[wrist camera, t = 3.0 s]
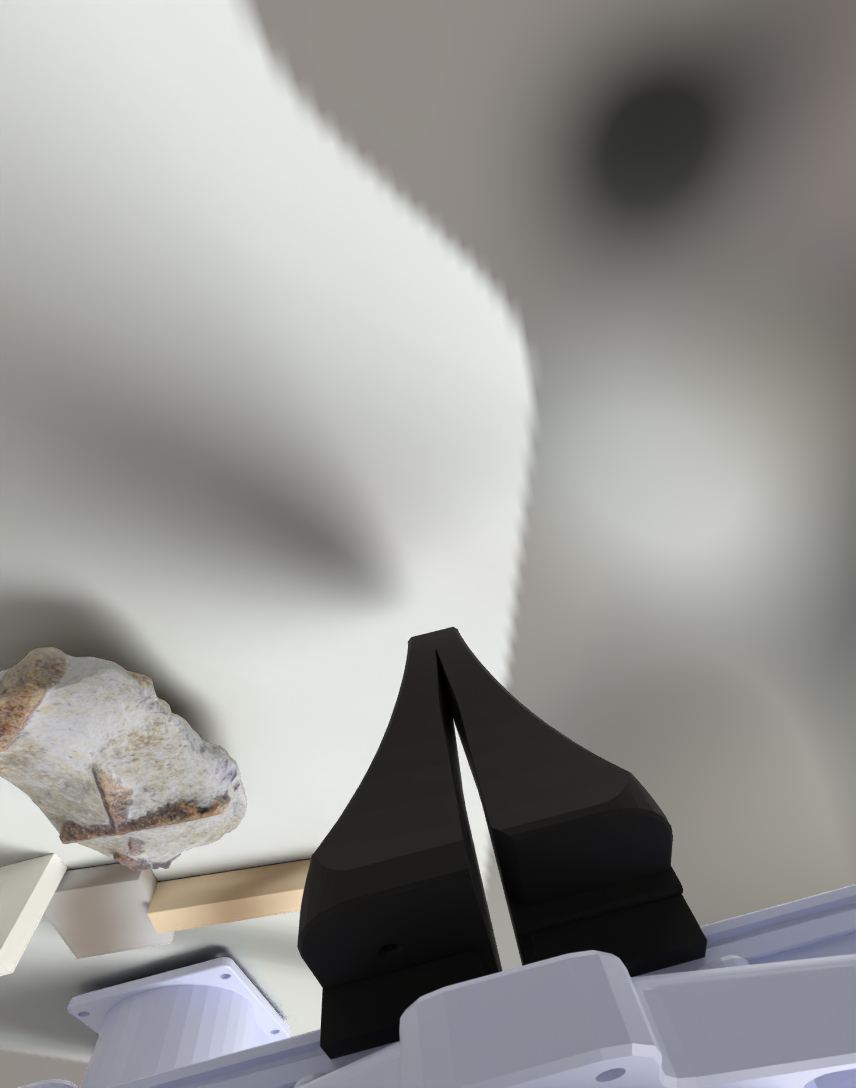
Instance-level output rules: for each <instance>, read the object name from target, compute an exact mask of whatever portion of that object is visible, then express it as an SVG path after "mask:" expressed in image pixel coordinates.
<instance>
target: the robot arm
mask: <svg viewBox="0 0 856 1088" xmlns="http://www.w3.org/2000/svg"><path fill="white" fill-rule="evenodd" d="M453 719H454V721H453ZM454 722H455V725H456V728H457V731H458V734H459V737H460V740H461V743H462V745H463V748H464V751H465V754H466V757H467V760H468V763H469V766H470V769H471V772H472V775H473V777H474V780H475V783H476V786H477V789H478V792H479V796H480V799H481V802H482V806H483V810H484V814H485V818H486V822H487V826H488V830H489V834H490V838H491V842H492V846H493V850H494V854H495V858H496V862H497V866H498V870H499V873H500V878H501V882H502V885H503V889H504V894H505V898H506V901H507V906H508V910H509V913H510V917H511V922H512V926H513V929H514V933H515V938H516V942H517V945H518V949H519V954H520V958H521V962H522V966H520V967H516V968H513V969H509V970H505V971H502V967H501V963H500V958H499V954H498V950H497V945H496V941H495V937H494V933H493V927H492V923H491V919H490V914H489V910H488V905H487V901H486V897H485V892H484V888H483V883H482V879H481V874H480V870H479V865H478V861H477V857H476V852H475V848H474V843H473V839H472V834H471V830H470V825H469V821H468V816H467V812H466V807H465V801H464V795H463V788H462V781H461V773H460V766H459V758H458V751H457V743H456V736H455V728H454ZM672 841H673V835H672V828H671V825H670V824H669V822H668V821H667V818H666V816H665V815H664V813H663V812H662V810H661V809H660V808H659V806H658V805H657V803H656V802H655V801H654V799H653V798H652V797H651V796H650V794H649V793H648V792H647V791H646V789H645V788H644V787H643V786H642V785H641V784H640V782H639V781H638V780H637V779H636V778H635V777H634V776H633V775H632V774H631V773H630V772H628V771H626V770H624V769H622V768H620V767H618V766H616V765H614V764H612V763H610V762H608V761H606V760H604V759H602V758H601V757H599V756H597V755H595V754H593V753H592V752H590V751H588V750H587V749H585V748H583V747H582V746H580V745H578V744H576V743H575V742H573V741H572V740H570V739H569V738H567V737H565V736H564V735H563V734H561V733H560V732H558V731H557V730H555V729H554V728H552V727H551V726H549V725H548V724H547V723H545V722H544V721H543V720H541V719H540V718H539V717H537V716H536V715H534V713H532V712H531V711H530V710H529V709H527V708H526V707H525V706H524V705H523V704H521V703H520V702H519V701H518V700H517V699H516V698H514V697H513V696H512V695H511V694H510V693H509V692H508V691H507V690H506V689H505V688H504V687H503V686H502V685H501V684H500V683H499V682H498V681H497V680H496V679H495V678H494V677H493V676H492V675H491V674H490V673H489V671H488V670H487V669H486V668H485V667H484V666H483V665H482V664H481V662H480V661H479V660H478V659H477V658H476V656H475V655H474V654H473V653H472V651H471V650H470V649H469V647H468V646H467V644H466V643H465V642H464V640H463V638H462V637H461V635H460V633H459V631H458V629H456V628H454V627H450V628H446V629H442V630H438V631H434V632H430V633H426V634H422V635H418V636H414V637H411V638H410V640H409V641H408V653H407V660H406V665H405V670H404V675H403V679H402V683H401V687H400V691H399V694H398V698H397V701H396V704H395V707H394V710H393V713H392V716H391V719H390V722H389V724H388V727H387V729H386V732H385V734H384V737H383V739H382V741H381V744H380V746H379V748H378V750H377V753H376V755H375V757H374V759H373V761H372V763H371V765H370V767H369V769H368V771H367V773H366V774H365V776H364V778H363V780H362V782H361V784H360V785H359V787H358V789H357V790H356V792H355V794H354V795H353V797H352V798H351V800H350V802H349V803H348V805H347V807H346V808H345V810H344V812H343V813H342V815H341V816H340V818H339V819H338V821H337V822H336V824H335V825H334V826H333V828H332V829H331V830H330V832H329V833H328V835H327V836H326V837H325V839H324V840H323V842H322V843H321V844H320V846H319V847H318V848H317V850H316V851H315V852H314V854H313V855H312V858H311V861H310V865H309V869H308V873H307V877H306V882H305V886H304V891H303V896H302V902H301V910H300V922H299V934H298V946H297V947H298V950H299V952H300V955H301V957H302V959H303V960H304V961H305V963H306V964H307V966H308V967H309V969H310V970H311V971H312V973H313V974H314V976H315V977H316V979H317V980H318V982H319V983H320V984H321V986H322V987H323V993H322V1013H321V1029H320V1030H316V1031H312V1032H308V1033H305V1034H301V1035H297V1036H294V1037H290V1031H291V1029H290V1027H289V1026H288V1025H287V1024H286V1023H285V1021H284V1020H283V1019H282V1018H281V1017H280V1015H279V1014H278V1013H277V1012H276V1011H275V1010H274V1008H273V1007H272V1006H271V1005H270V1004H269V1002H268V1001H267V1000H266V999H265V998H264V997H263V995H262V994H261V993H260V992H259V991H258V989H257V988H256V987H255V986H254V985H253V984H252V982H251V981H250V980H249V979H248V978H247V976H246V975H245V974H244V973H243V972H242V971H241V969H240V968H239V967H238V966H237V965H236V963H235V962H234V961H233V960H232V959H231V958H228V957H220V958H216V959H213V960H209V961H205V962H201V963H197V964H194V965H190V966H186V967H182V968H179V969H175V970H171V971H167V972H164V973H160V974H156V975H152V976H149V977H145V978H141V979H137V980H133V981H130V982H126V983H122V984H118V985H115V986H111V987H107V988H103V989H100V990H96V991H92V992H88V993H84V994H81V995H77V996H75V997H73V998H72V999H71V1000H70V1002H69V1005H68V1007H67V1011H68V1012H69V1013H70V1014H72V1015H73V1016H74V1017H76V1018H77V1019H78V1020H80V1021H81V1022H82V1023H84V1024H85V1025H86V1026H88V1027H89V1028H90V1029H92V1030H93V1031H94V1032H96V1033H97V1034H98V1035H99V1037H98V1040H97V1042H96V1045H95V1048H94V1051H93V1054H92V1056H91V1059H90V1062H89V1065H88V1068H87V1071H86V1073H85V1076H84V1079H83V1082H82V1085H81V1087H80V1088H856V884H854V885H850V886H847V887H843V888H839V889H836V890H832V891H828V892H824V893H821V894H817V895H813V896H810V897H806V898H802V899H799V900H795V901H791V902H788V903H784V904H780V905H777V906H773V907H769V908H766V909H762V910H758V911H754V912H751V913H747V914H744V915H740V916H736V917H733V918H729V919H725V920H722V921H718V922H714V923H710V924H707V925H703V926H699V924H698V923H697V921H696V919H695V917H694V916H693V914H692V912H691V910H690V908H689V907H688V905H687V903H686V901H685V899H684V897H683V896H682V894H681V893H683V888H682V885H681V883H680V881H679V879H678V877H677V876H676V874H675V872H674V870H673V869H672V867H671V854H672ZM18 1088H79V1087H78V1086H77V1085H75V1084H74V1083H72V1082H70V1081H66V1080H62V1079H51V1080H45V1081H40V1082H36V1083H33V1084H29V1085H25V1086H21V1087H18Z"/></svg>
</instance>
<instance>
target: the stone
mask: <svg viewBox="0 0 856 1088" xmlns="http://www.w3.org/2000/svg"><path fill="white" fill-rule="evenodd" d="M0 776H1V777H2V778H4V779H6V780H8V781H9V782H11V783H12V784H14V785H15V786H16V787H18V788H19V789H21V790H22V791H23V792H25V793H26V794H27V795H28V796H29V797H30V798H31V799H32V801H33V802H34V803H35V804H36V805H37V806H38V807H39V808H40V809H41V811H42V812H43V813H44V814H45V815H46V817H47V818H48V819H49V820H50V822H51V823H52V824H53V826H54V827H55V828H56V830H57V831H58V832H59V834H60V836H59V837H60V839H61V841H62V843H63V844H69V843H74V842H76V843H78V844H81V845H84V846H86V847H89V848H91V849H94V850H96V851H99V852H100V853H102V854H104V855H107V856H109V857H112V858H114V859H115V860H117V861H118V862H119V863H120V864H121V865H126V866H127V867H128V868H130V869H131V870H135V871H142V870H148V869H158V868H159V867H162V868H164V869H167V868H169V866H170V864H171V862H172V861H173V860H174V859H176V858H177V857H178V856H180V855H181V852H183V851H186V850H189V849H192V848H194V847H198V846H203V845H207V844H211V843H213V842H215V841H217V840H219V839H220V838H221V837H222V836H223V835H224V834H226V833H229V832H231V831H232V830H234V829H236V828H237V826H238V825H239V824H240V822H241V820H242V819H243V818H244V815H245V812H246V808H247V797H246V794H245V790H244V788H243V784H242V781H241V774H240V771H239V768H238V766H237V763H236V761H234V760H233V759H232V758H231V757H230V756H229V755H228V753H227V751H226V750H224V749H223V748H222V747H221V746H217V745H213V744H210V743H207V742H206V741H204V740H202V739H201V737H200V736H199V735H198V734H197V732H196V731H195V730H193V729H192V728H191V726H190V725H189V724H188V723H187V721H186V720H185V719H184V718H183V717H181V716H180V715H177V714H174V713H172V712H171V708H170V706H169V704H168V703H167V702H166V701H165V700H162V699H160V698H158V697H157V696H156V693H155V690H154V686H153V681H152V679H151V678H150V677H149V676H146V675H143V674H141V673H138V672H132V671H127V670H125V669H124V668H123V667H122V666H120V665H118V664H116V663H115V662H113V661H109V660H104V659H100V658H95V657H73V656H69V655H67V654H66V653H65V652H63V651H62V650H60V649H58V648H55V647H45V648H35V649H33V650H31V651H29V653H28V654H27V655H26V656H25V657H24V658H23V659H22V660H21V661H19V662H18V663H17V664H16V665H14V666H13V667H12V668H10V669H6V670H3V671H0Z"/></svg>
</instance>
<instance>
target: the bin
mask: <svg viewBox="0 0 856 1088" xmlns="http://www.w3.org/2000/svg"><path fill="white" fill-rule="evenodd" d="M67 868H68V867H67V866H66V865H65V864H64V863H63V862H62V861H61V860H60V859H59V858H58V857H57V856H56V855H55V854H50V855H46V856H42V857H38V858H34V859H30V860H26V861H23V862H19V863H15V864H11V865H7V866H3V867H0V976H3V975H7V974H11V973H13V972H14V970H15V968H16V966H17V964H18V962H19V960H20V958H21V957H22V955H23V953H24V951H25V949H26V947H27V945H28V943H29V941H30V939H31V937H32V935H33V933H34V931H35V929H36V928H37V926H38V924H39V922H40V920H41V918H42V916H43V914H44V912H45V910H46V908H47V906H48V904H49V902H50V900H51V898H52V897H53V895H54V893H55V891H56V889H57V887H58V885H59V883H60V881H61V879H62V877H63V875H64V873H65V871H66V869H67Z"/></svg>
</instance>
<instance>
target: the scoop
mask: <svg viewBox="0 0 856 1088" xmlns="http://www.w3.org/2000/svg"><path fill="white" fill-rule="evenodd" d="M310 861H311V859H309V860H302V861H295V862H289V863H282V864H276V865H269V866H263V867H256V868H249V869H243V870H236V871H230V872H223V873H216V874H210V875H203V876H197V877H190V878H184V879H177V880H170V881H164V882H157V880H156V878H155V876H154V874H153V872H152V870H151V869H148V870H142V871H135V870H131V869H130V868H128V867H127V866H126V865H121V864H120V863H118V864H111V865H104V866H97V867H90V868H84V869H77V870H70V871H65V873H64V875H63V877H62V879H61V881H60V883H59V885H58V887H57V889H56V891H55V893H54V895H53V897H52V898H51V900H50V902H49V904H48V906H47V908H46V910H45V912H44V914H45V915H46V916H47V918H48V919H49V921H50V922H51V923H52V925H53V926H54V928H55V929H56V930H57V932H58V933H59V934H60V936H61V937H62V939H63V940H64V941H65V943H66V944H67V946H68V947H69V948H70V950H71V951H72V953H73V954H74V955H75V957H76V958H77V959H79V958H85V957H91V956H97V955H103V954H109V953H115V952H121V951H127V950H133V949H139V948H145V947H151V946H157V945H163V944H169V943H172V940H173V937H174V933H175V931H179V930H185V929H191V928H197V927H203V926H209V925H215V924H221V923H228V922H234V921H240V920H246V919H252V918H258V917H264V916H271V915H277V914H283V913H289V912H295V911H300V910H301V902H302V896H303V891H304V886H305V882H306V877H307V873H308V869H309V865H310Z"/></svg>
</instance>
